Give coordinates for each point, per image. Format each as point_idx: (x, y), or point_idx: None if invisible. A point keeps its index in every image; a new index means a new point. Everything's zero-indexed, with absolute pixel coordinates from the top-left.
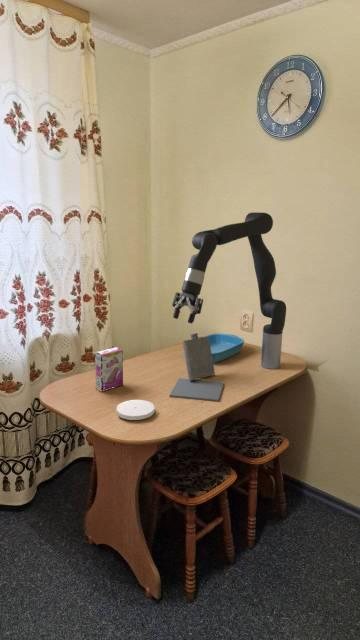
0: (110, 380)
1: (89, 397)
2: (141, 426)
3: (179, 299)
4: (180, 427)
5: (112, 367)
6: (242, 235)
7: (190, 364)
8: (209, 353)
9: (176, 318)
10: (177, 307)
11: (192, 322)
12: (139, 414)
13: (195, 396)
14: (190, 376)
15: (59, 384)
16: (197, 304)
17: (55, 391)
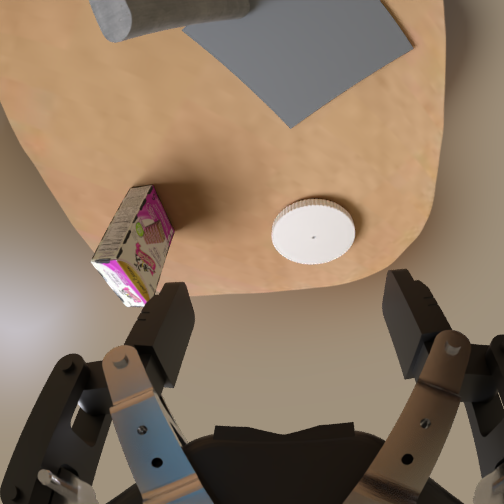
0: (161, 230)
1: (191, 254)
2: (364, 244)
3: (58, 453)
4: (422, 203)
5: (149, 251)
6: None
7: (216, 13)
8: None
9: (188, 295)
10: (165, 403)
11: (406, 272)
12: (345, 246)
13: (350, 77)
14: (236, 17)
15: None
16: (502, 461)
17: None
